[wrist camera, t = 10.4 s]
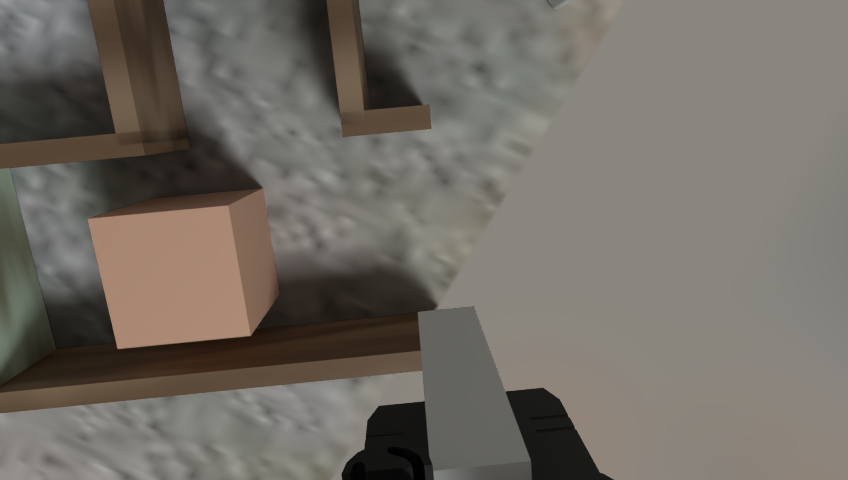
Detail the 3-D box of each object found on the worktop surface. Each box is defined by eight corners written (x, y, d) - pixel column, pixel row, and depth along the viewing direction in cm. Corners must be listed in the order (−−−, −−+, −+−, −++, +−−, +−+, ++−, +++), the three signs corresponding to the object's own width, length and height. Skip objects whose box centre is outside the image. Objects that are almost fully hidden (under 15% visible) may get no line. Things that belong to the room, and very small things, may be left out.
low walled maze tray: (-17, 147, 33) (-108, 154, 27) (424, 107, 33) (429, 104, 27) (42, 367, 36) (-29, 416, 30) (443, 327, 36) (451, 367, 30)
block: (151, 198, 34) (87, 218, 27) (263, 187, 34) (228, 205, 27) (172, 304, 35) (117, 348, 29) (279, 294, 35) (250, 335, 29)
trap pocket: (131, -53, 31) (67, -93, 25) (350, -72, 31) (338, -117, 25) (168, 140, 33) (118, 145, 27) (371, 122, 33) (365, 122, 27)
